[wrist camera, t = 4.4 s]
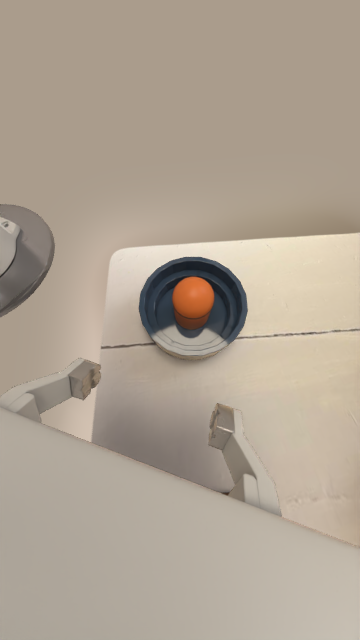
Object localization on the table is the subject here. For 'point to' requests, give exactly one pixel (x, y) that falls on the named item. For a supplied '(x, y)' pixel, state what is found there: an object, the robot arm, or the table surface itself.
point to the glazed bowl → (221, 320)
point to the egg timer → (192, 302)
